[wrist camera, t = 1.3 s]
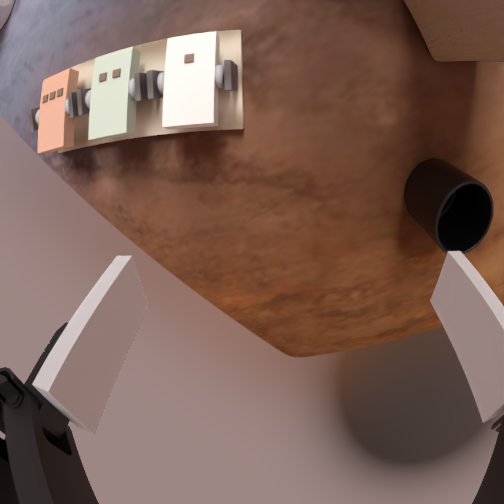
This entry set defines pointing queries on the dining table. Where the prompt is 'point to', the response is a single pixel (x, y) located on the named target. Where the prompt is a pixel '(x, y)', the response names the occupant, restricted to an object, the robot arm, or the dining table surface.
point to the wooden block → (461, 28)
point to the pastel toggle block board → (152, 99)
